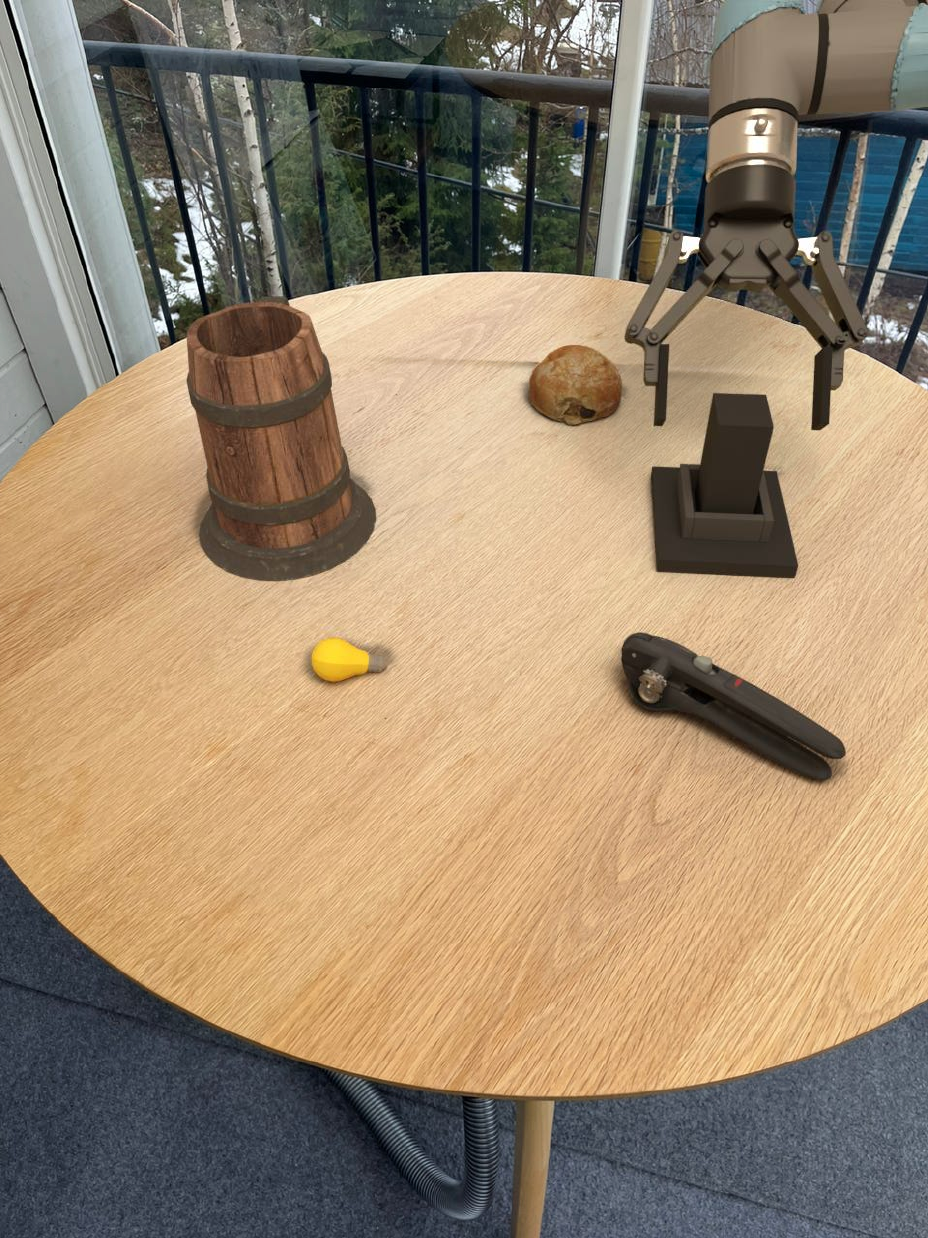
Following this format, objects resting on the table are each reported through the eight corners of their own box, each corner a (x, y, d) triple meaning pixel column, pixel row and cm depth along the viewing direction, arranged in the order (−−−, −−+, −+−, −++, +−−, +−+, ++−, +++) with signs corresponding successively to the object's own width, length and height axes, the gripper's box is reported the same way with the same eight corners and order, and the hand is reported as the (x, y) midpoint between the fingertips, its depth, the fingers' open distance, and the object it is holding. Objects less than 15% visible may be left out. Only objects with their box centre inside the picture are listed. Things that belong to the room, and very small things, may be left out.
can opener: (597, 694, 73) (603, 645, 70) (645, 644, 77) (653, 594, 73) (810, 816, 65) (830, 767, 61) (852, 753, 69) (874, 703, 65)
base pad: (773, 483, 92) (782, 448, 90) (795, 578, 82) (805, 543, 80) (650, 478, 93) (655, 444, 91) (656, 572, 83) (662, 537, 81)
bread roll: (535, 450, 104) (546, 409, 96) (515, 372, 107) (524, 327, 99) (621, 437, 105) (638, 396, 97) (599, 361, 108) (614, 315, 101)
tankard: (370, 578, 84) (344, 378, 70) (182, 583, 84) (119, 384, 70) (384, 431, 101) (366, 246, 87) (227, 435, 101) (183, 252, 87)
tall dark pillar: (743, 496, 88) (766, 394, 81) (749, 530, 85) (774, 426, 77) (694, 495, 89) (713, 392, 81) (698, 528, 85) (718, 424, 78)
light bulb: (307, 666, 76) (313, 627, 75) (380, 673, 78) (387, 635, 76) (309, 687, 73) (315, 647, 72) (384, 694, 75) (392, 655, 73)
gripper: (607, 158, 79) (596, 411, 79) (916, 159, 77) (905, 419, 76) (602, 199, 86) (592, 430, 86) (883, 200, 84) (873, 437, 84)
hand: (739, 425), depth 81 cm, fingers open, 13 cm apart
